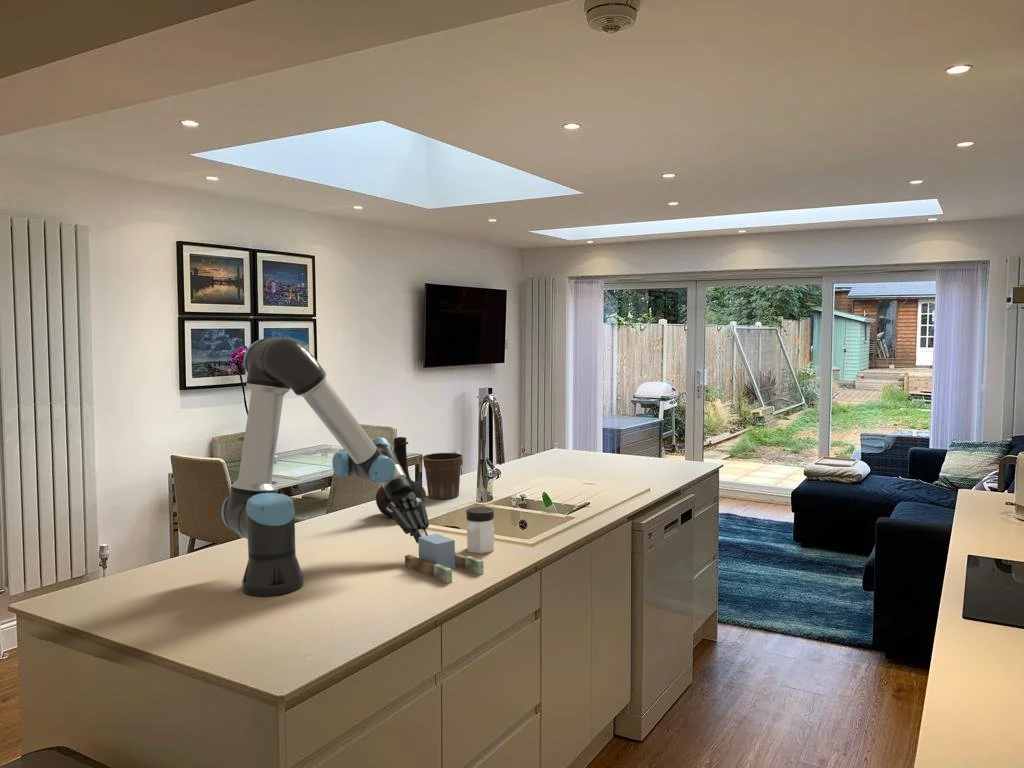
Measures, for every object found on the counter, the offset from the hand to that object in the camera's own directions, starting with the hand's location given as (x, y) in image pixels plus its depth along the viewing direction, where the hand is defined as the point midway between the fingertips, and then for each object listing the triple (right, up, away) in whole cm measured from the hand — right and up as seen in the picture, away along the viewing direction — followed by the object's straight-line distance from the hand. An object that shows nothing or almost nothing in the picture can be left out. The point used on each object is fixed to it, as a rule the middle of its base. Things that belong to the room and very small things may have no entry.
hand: (428, 551), depth 217 cm
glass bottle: (-16, 0, +55) cm, 57 cm away
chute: (+5, -3, -7) cm, 10 cm away
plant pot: (-3, +3, +86) cm, 86 cm away
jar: (+14, -2, +12) cm, 19 cm away
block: (+3, -3, -5) cm, 7 cm away
